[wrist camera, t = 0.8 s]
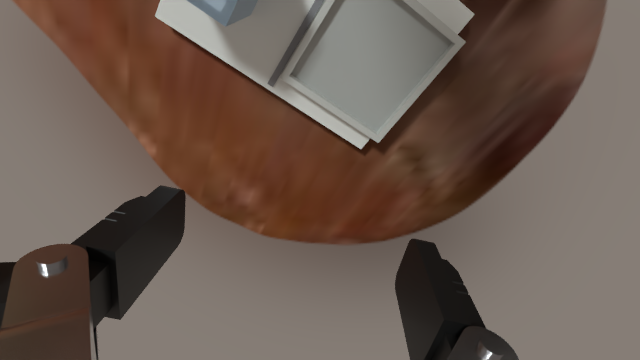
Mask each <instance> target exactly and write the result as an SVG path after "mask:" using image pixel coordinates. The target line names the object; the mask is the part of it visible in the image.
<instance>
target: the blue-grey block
mask: <svg viewBox="0 0 640 360" xmlns="http://www.w3.org/2000/svg"><path fill="white" fill-rule="evenodd" d="M187 1H188V2H190V3H191V4H193V5H194V6H196V7H197V8H199V9H200V10H202V11H203V12H205V13H206V14H207V15H209V16H210V17H212V18H213V19H215V20H216V21H218V22H219V23H221V24H222V25H224V26H225V27H226V26H228V25H231V24H233V23H235V22H237V21H239V20H241V19H244V18H246V17H248V16H250V15H251V14H252V11H253V9H254V7H255V5H256V3H257V1H258V0H187Z"/></svg>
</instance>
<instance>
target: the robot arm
mask: <svg viewBox="0 0 640 360" xmlns="http://www.w3.org/2000/svg"><path fill="white" fill-rule="evenodd" d="M184 223H185V192H184V190H181V189H176V188H171V187H166V186H159V187H158V188H156V189H155V190H154V191H153V192H151V193H150V194H149V195H148V196H146V197H143V196H140V197H137V198H135V199H132V200H129V201H127V202H125V203H124V204H122V205H121V206H120V207H118V208H117V209H116V210H115V211H114V212H112V213H111V214H109V215H108V216H107V217H105V220H101V221H100V222H99V223H97V224H96V225H95V226H94V227H92V228H91V229H90V230H88V231H87V232H86V233H84V234H83V235H82V236H81V237H79V238H78V239H76V240H75V241H74V242H73V243H71V244H56V245H50V246H46V247H42V248H39V249H36V250H34V251H32V252H30V253H28V254H26V255H25V256H23V257H22V258H20V259H19V260H18V261H17V262H3V263H0V360H99V352H98V336H97V325H98V324H99V322H100V321H101V320H102V319H103V318H104V317H109V318H114V319H119V320H120V319H121V318H122V317H123V316H124V314H125V313H126V312H127V310H128V309H129V308H130V307H131V306H132V304H133V303H134V302H135V300H136V299H137V298H138V296H139V295H140V294H141V293H142V291H143V290H144V289H145V287H146V286H147V285H148V283H149V282H150V281H151V280H152V279H153V277H154V276H155V275H156V273H157V272H158V270H160V268H161V267H162V266H163V264H164V263H165V262H166V261H167V259H168V258H169V257H170V256H171V254H172V253H173V252H174V250H175V249H176V248H177V247H178V245H179V244H180V242H181V239H182V237H183V233H184ZM395 290H396V295H397V300H398V305H399V309H400V314H401V319H402V323H403V328H404V332H405V337H406V342H407V347H408V352H409V356H410V360H519V359H518V356H517V355H516V353H515V351H514V350H513V349H512V347H511V346H510V345H509V344H508V343H507V342H506V341H505V340H504V339H503V338H501V337H500V336H498V335H497V334H495V333H494V332H492V331H490V330H488V329H486V327H485V325H484V323H483V321H482V319H481V317H480V315H479V313H478V311H477V309H476V307H475V305H474V303H473V301H472V299H471V297H470V295H468V291H467V289H466V287H465V286H464V285H463V281H462V279H461V277H460V275H459V273H458V271H457V270H456V269H455V268H454V267H453V266H452V265H451V264H450V263H449V262H448V261H447V260H444V259H442V258H441V256H440V254H439V252H438V249H437V247H436V245H435V244H434V243H432V242H427V241H422V240H418V239H411V240H410V241H409V243H408V246H407V248H406V251H405V254H404V256H403V259H402V261H401V264H400V266H399V269H398V272H397V275H396V280H395Z"/></svg>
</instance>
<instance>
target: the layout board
mask: <svg viewBox="0 0 640 360" xmlns="http://www.w3.org/2000/svg"><path fill="white" fill-rule="evenodd" d="M474 15H475V14H474V13H473V12H472V11H470V10H469V9H468V8H467V7H466V6H465V5H464V4H462V3H461V2H460V1H459V0H258V1H257V3H256V5H255V7H254V9H253V11H252V14H251V15H250V16H248V17H246V18H244V19H241V20H239V21H237V22H235V23H233V24H231V25H228V26H226V27H225V26H224V25H222V24H221V23H219V22H218V21H216V20H215V19H213V18H212V17H210V16H209V15H207V14H206V13H205V12H203V11H202V10H200V9H199V8H197V7H196V6H194V5H193V4H191V3H190V2H188V1H187V0H160V3H159V6H158V9H157V12H156V15H155V17H157V18H158V19H160V20H161V21H163V22H164V23H166V24H167V25H169V26H170V27H172V28H174V29H175V30H177V31H178V32H180V33H181V34H183V35H184V36H186V37H188V38H189V39H191V40H192V41H194V42H195V43H197V44H198V45H200V46H201V47H203V48H205V49H206V50H208V51H209V52H211V53H212V54H214V55H215V56H217V57H218V58H220V59H222V60H223V61H225V62H226V63H228V64H229V65H231V66H232V67H234V68H236V69H237V70H239V71H240V72H242V73H243V74H245V75H246V76H248V77H249V78H251V79H253V80H254V81H256V82H257V83H259V84H260V85H262V86H263V87H265V88H267V89H268V90H270V91H271V92H273V93H274V94H276V95H277V96H279V97H280V98H282V99H284V100H285V101H287V102H288V103H290V104H291V105H293V106H294V107H296V108H298V109H299V110H301V111H302V112H304V113H305V114H307V115H308V116H310V117H311V118H313V119H315V120H316V121H318V122H319V123H321V124H322V125H324V126H325V127H327V128H328V129H330V130H332V131H333V132H335V133H336V134H338V135H339V136H341V137H342V138H344V139H346V140H347V141H349V142H350V143H352V144H353V145H355V146H356V147H358V148H359V149H362V148H363V147H364V145H365V144H366V143H367V142H368V141H369V139H370V138H371V139H373V140H374V141H376V142H377V143H379V142H380V141H381V140H382V138H383V137H384V136H385V135H386V134H387V133H388V131H389V130H390V129H391V128H392V127H393V126H394V124H395V123H396V122H397V121H398V120H399V119H400V118H401V116H402V115H403V114H404V113H405V112H406V111H407V109H408V108H409V107H410V106H411V105H412V104H413V103H414V101H415V100H416V99H417V98H418V97H419V96H420V94H421V93H422V92H423V91H424V90H425V89H426V88H427V86H428V85H429V84H430V83H431V82H432V81H433V79H434V78H435V77H436V76H437V75H438V74H439V73H440V71H441V70H442V69H443V68H444V67H445V66H446V64H447V63H448V62H449V61H450V60H451V59H452V57H453V56H454V55H455V54H456V53H457V52H458V51H459V49H460V48H461V47H462V46H463V45H464V44H465V42H466V41H464V40H463V39H462V38H461V37H460V36H458V34H459V32H460V31H461V30H462V29H463V28H464V27H465V25H466V24H467V23H468V22H469V21H470V19H471V18H472V17H473V16H474Z"/></svg>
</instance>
